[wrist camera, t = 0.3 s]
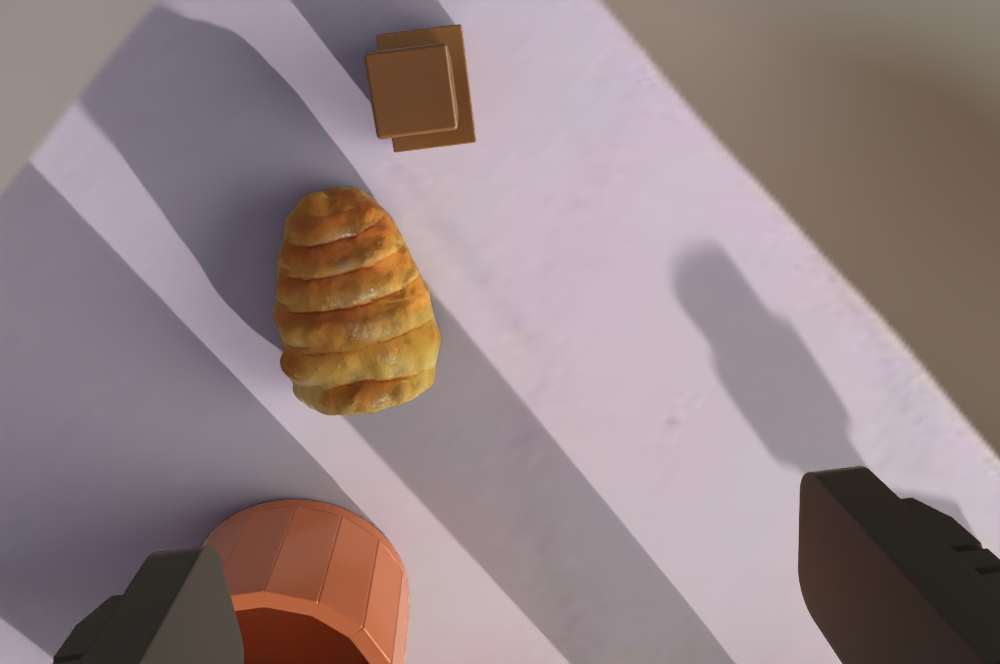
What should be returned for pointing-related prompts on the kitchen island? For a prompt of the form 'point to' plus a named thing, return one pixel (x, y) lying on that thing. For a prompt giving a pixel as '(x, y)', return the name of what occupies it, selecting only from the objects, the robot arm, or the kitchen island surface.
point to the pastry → (352, 307)
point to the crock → (313, 585)
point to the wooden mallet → (421, 88)
